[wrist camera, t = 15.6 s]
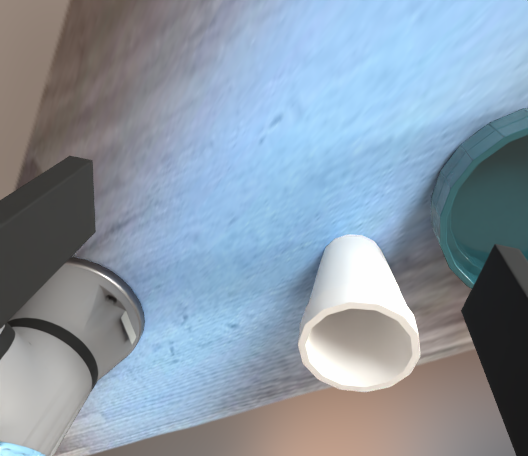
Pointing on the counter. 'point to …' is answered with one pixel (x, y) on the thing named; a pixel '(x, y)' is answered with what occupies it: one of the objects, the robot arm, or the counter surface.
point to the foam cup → (357, 320)
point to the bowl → (483, 196)
